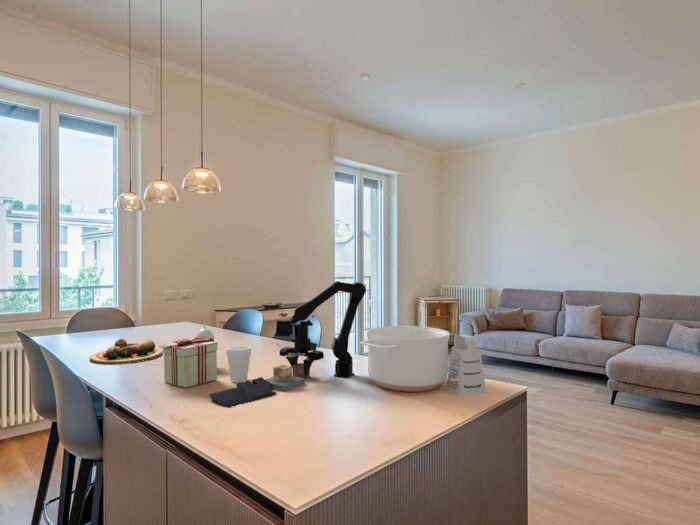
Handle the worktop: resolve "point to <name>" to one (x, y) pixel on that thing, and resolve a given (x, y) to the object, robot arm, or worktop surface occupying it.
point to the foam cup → (238, 362)
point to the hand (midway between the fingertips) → (301, 374)
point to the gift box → (190, 361)
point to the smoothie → (205, 333)
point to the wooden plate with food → (126, 352)
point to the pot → (407, 357)
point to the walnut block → (299, 371)
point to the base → (286, 383)
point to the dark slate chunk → (244, 393)
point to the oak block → (282, 373)
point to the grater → (466, 367)
